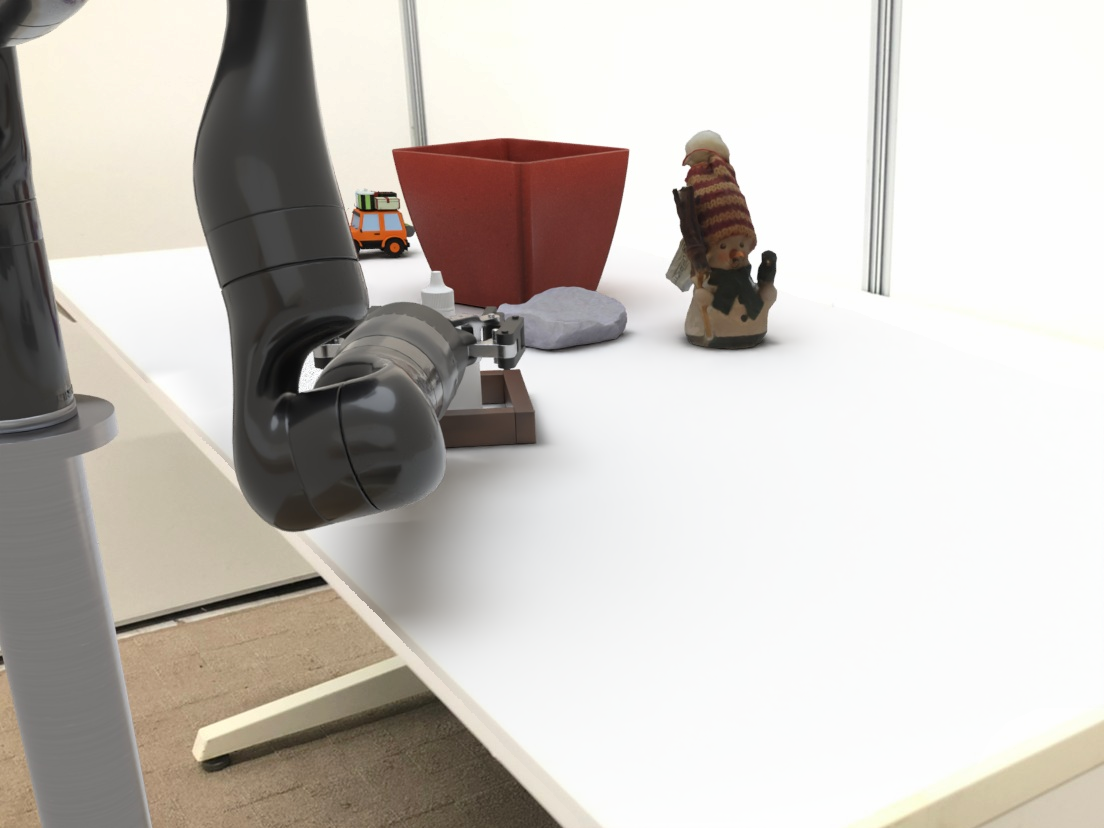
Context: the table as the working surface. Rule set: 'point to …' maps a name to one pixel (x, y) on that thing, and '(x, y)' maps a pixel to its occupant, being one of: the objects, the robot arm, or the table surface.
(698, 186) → the figurine
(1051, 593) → the table surface
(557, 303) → the stone block
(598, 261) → the flower pot
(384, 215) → the toy car
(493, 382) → the brown wooden square frame
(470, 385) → the eye dropper bottle
